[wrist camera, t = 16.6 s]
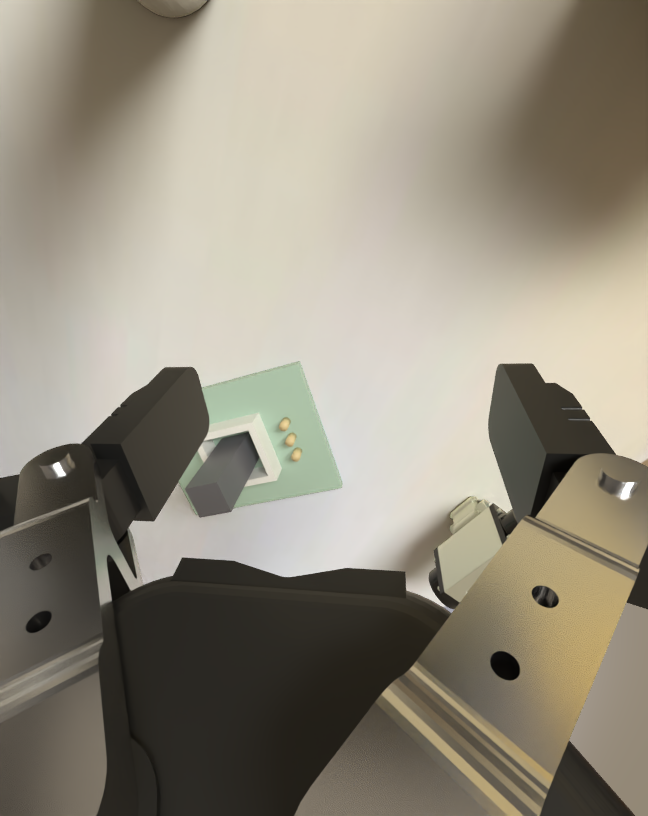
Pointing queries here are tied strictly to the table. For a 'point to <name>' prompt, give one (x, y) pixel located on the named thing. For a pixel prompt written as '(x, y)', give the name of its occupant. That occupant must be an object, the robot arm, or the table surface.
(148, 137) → the table surface
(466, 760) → the robot arm
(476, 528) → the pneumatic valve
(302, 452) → the board
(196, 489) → the grey rectangular block
